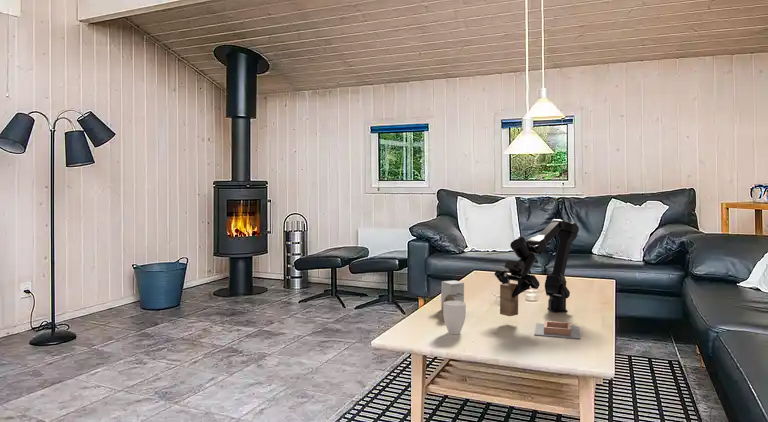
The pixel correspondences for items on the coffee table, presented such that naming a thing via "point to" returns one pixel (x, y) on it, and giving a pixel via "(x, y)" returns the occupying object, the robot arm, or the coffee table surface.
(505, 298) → the block
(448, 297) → the decorative egg
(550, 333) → the holder
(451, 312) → the mug
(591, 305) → the coffee table surface
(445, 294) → the supplement box
